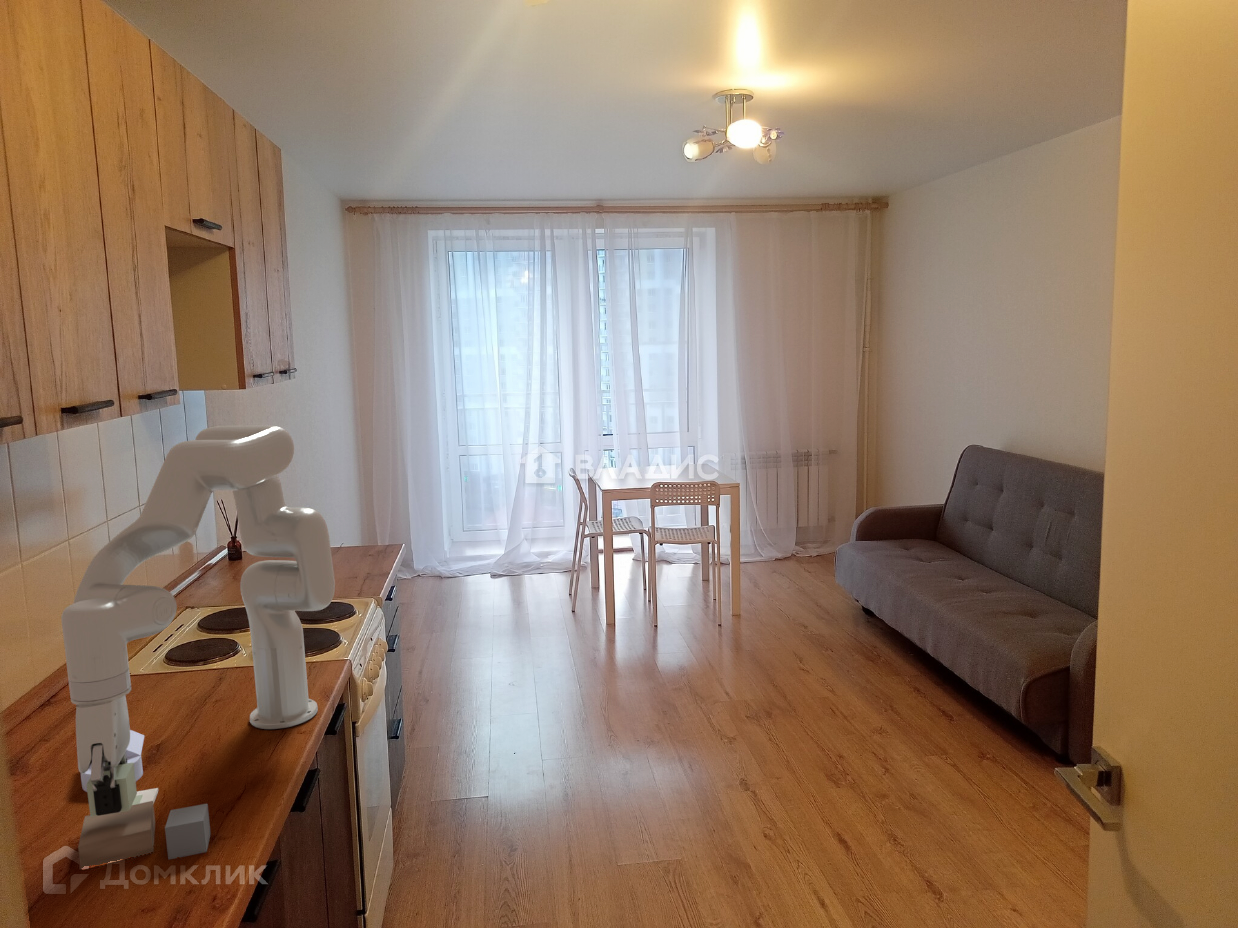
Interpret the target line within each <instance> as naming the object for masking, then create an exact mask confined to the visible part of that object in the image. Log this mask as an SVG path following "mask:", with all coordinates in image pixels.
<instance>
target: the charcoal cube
mask: <svg viewBox="0 0 1238 928" xmlns="http://www.w3.org/2000/svg"><path fill="white" fill-rule="evenodd" d="M208 804H209V803H202V804H198V805H193V806H187V807H181V808H176V809H171V810H169V814H168V817H167V821H166V823H165V826H164V832H165V839H166V840H165V841H166V850H167V858H168V861H169V860H173V859H178V858H177V857H179V858H184V857H188V856H192V855H193V856H194V855H198V854H199V855H200V854H203V853H207V851H208V848H209V842H210V840H211V839H210V838H211V834H212V833H211V826H210V825H211V824H210V816H209V815H210V813H209V805H208Z"/></svg>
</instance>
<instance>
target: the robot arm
mask: <svg viewBox="0 0 1238 928" xmlns="http://www.w3.org/2000/svg"><path fill="white" fill-rule="evenodd" d="M294 454H295V445H294V441H293V439H292V436H291V435H290V433H289V432H288V431H287V430H286V429H284V428H283V427H280V426H276V425H216V426H211V427H207V428H204V429H202V430H201V431H199V432H198V433H197V435H196V437H195V439H193V440H184V441H181V442H178V443H177V444H175V445H173V446H172V447H171V448H170V450H169V451H167V454H166V457H165V459H164V460H163V463H162V465H161V467H160V469H159V472H158V474H157V476H156V479H155V481H154V483H153V486H152V488H151V489H150V493H149V495H148V497H147V500H146V502H145V504H144V506H143V508H142V511H141V513H140V515H139V517H138V518H137V519H136V520H135V521H133V522H132V523H131V524H129V525H128V526H127V527H125V528H124V529H123V530H122V531H120V532H119V533H118V534H117V535H116V536H114V537H113V538H112V539H111V540H110V541H109V542H108V543H106V545H104V546H103V547H102V548H101V549H100V550H99V551H98V552H97V553H96V554H95V555H94V556H93V558H92V560H91V561H90V562H89V564H88V566H87V568H86V570H85V572H84V574H83V577H82V578H81V581H80V583H79V586H78V588H77V590H76V593H75V596H74V599H73V603H72V604H70V605H68V606H67V607H65V608H64V610H63V611H62V613H61V617H60V619H61V629H62V636H63V637H62V638H63V645H64V653H65V663H66V672H67V678H68V679H67V680H68V688H69V696H70V697H69V698H70V703H72V704H73V705H76V706H75V707H76V708H75V709H76V710H75V735H76V736H75V737H76V738H75V739H76V753H77V754H76V755H77V768H78V772H81V773H85V772H86V771H88V769H89V767H90V765H91V764H92V768H91V782H92V784H93V793H94V802H95V810H96V815H98V816H100V815H106V814H111V813H117V812H120V811H121V809H122V804H121V795H120V786H119V784H117V785H116V766H117V765H120V764H127V756H126V749H127V747H128V745H129V742H130V730H131V727H130V715H129V709H128V703H127V695H128V694H130V692H131V691H132V682H131V675H130V667H129V665H130V663H129V656H128V647H127V644H128V643H129V642H132V641H134V640H138V639H139V640H140V639H143V638H147V637H151V636H154V635H157V634H159V633H161V632H162V631H164V630H166V629H167V628H168V627H169V626H170V624H171V623H172V622H173V620H174V618H175V617H176V613H177V601H176V598H175V596H174V595H173V594H172V593H171V592H170V591H169V590H167V589H166V588H163V587H160V586H155V585H145V584H144V585H143V584H142V585H141V584H139V585H138V584H137V585H136V584H124V583H125V582H126V579H127V578H128V577H129V575H130V574H131V573H132V572H133V571H134V570H135V569H136V568H137V567H139V566H140V565H141V564H142V563H144V562H145V561H146V562H147V560H149V559H151V558H152V557H155V556H156V555H159V554H161V553H163V552H166V551H170V550H171V549H173V548H176V547H178V546H180V545H183V544H184V543H186V542H188V541H191V539H192V538H194V537H195V535H196V534H197V531H198V528H199V526H200V523H201V521H202V517H203V515H204V513H205V511H206V508H207V505H208V503H209V500H210V497H211V495H212V493H214V492H215V491H232V494H233V499H234V503H235V510H236V516H237V517H236V518H237V522H238V529H239V533H240V538H241V540H240V541H241V542H242V546H243V549H244V550H245V551H246V553H248V555H249V554H250V556H251V555H252V556H254V557H255V556H256V557H262V558H264V557H265V558H292V559H293V558H294V559H295V560H277V559H276V560H275V559H274V560H273V559H271V560H269V559H267V560H260V561H256V562H254V563H253V564H251V565H249V566H248V567H247V568H246V569H245V570H244V571H243V573H242V575H241V577H240V578H241V579H240V585H239V589H240V595H241V598H242V601H243V604H244V607H245V610H246V614H247V619H248V625H249V631H250V640H251V642H250V643H251V651H252V653H251V654H252V662H253V673H254V682H255V694H256V704H257V705H256V706H257V707H256V708H255V709H253V710H252V711H251V713H250V714H249V722H250V724H251V726H253V727H255V728H258V729H262V730H263V729H264V730H277V729H278V730H279V729H285V728H286V729H287V728H291V727H294V726H297V725H300V724H303V723H306V722H307V721H309V720H311V719H312V718H313V717H315V716H316V714H317V713H318V711H319V710H318V709H319V708H318V703H317V702H316V701H315V700H313V699H311V698H309V689H308V677H307V676H308V675H307V664H306V662H307V661H306V653H305V639H304V629H303V625H302V622H301V620H300V618H299V616H298V614H297V612H296V611H299V612H314V611H315V612H318V611H321V610H323V609H326V608H327V607H328V606H329V605H330V604H331V602H332V600H333V598H334V595H335V589H336V587H335V586H336V579H335V571H334V564H333V557H332V556H333V555H332V550H331V549H332V548H331V541H330V535H329V534H330V533H329V529H328V525H327V522H326V520H325V518H324V516H323V515H322V514H321V513H320V512H319V511H317V510H315V509H313V508H311V507H310V508H309V507H296V506H295V507H294V506H293V507H289V506H288V505H287V503H286V502H285V498H284V493H283V487H282V483H281V480H280V478H279V475H280V474H281V473H283V472H284V471H285V470H286V469H287V468H288V467H289V465H290V464H291V462H292V460H293V457H294ZM104 764H105V766H104ZM109 770H110V777H109V776H108V775H104V772H103V771H109ZM81 773H80V774H81Z"/></svg>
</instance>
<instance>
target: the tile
mask: <svg viewBox="0 0 1238 928" xmlns="http://www.w3.org/2000/svg"><path fill="white" fill-rule="evenodd" d="M158 793H159V787H156V788H149V789H144V790H143V789H142V790H138V791H137V795H136V797H135V799H134V801H133V804H132V805H136V804H140V803H145V802H149V801H153V805H154V803H155V801H156V799H157V796H158Z"/></svg>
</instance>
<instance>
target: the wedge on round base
mask: <svg viewBox="0 0 1238 928" xmlns="http://www.w3.org/2000/svg"><path fill="white" fill-rule="evenodd" d="M144 741H145V735H144V734H141V733H139V732H137V731H134V730H132V729H130V742H129V745H128V747H127V749H126V756H127V763H134V772H135V781H136V782H137V781H138V780H140V779H141V778H142V776H143V775H144V770H143V769H144V768H143V760H142V751H143V745H144ZM104 766H105V764H104ZM91 768H92V764H91V765H90V767H89V769H88V771H86V772H85V773H81V772H80V771H79V772H80V781H81V787H82V790H83V791H84V792H86V793H88V792H87V783H88V781H89V779H90V777H91Z"/></svg>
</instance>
